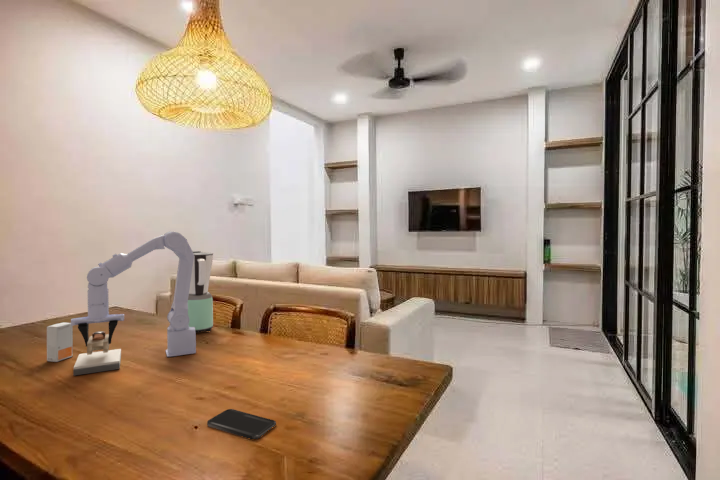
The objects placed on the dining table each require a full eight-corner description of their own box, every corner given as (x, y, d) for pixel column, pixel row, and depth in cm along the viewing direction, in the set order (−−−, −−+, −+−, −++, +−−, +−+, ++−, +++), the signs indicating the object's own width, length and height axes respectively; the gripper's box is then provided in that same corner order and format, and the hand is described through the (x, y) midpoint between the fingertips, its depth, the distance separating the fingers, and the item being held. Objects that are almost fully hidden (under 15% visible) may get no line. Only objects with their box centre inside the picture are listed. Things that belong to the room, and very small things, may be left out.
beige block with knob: (109, 344, 134) (109, 334, 134) (107, 352, 125) (107, 341, 125) (90, 346, 131) (90, 336, 131) (87, 355, 123) (86, 344, 122)
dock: (121, 355, 138) (120, 348, 138) (119, 369, 125) (119, 361, 125) (79, 361, 132) (79, 353, 132) (73, 376, 119) (73, 368, 119)
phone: (255, 437, 84) (205, 422, 90) (255, 442, 84) (205, 426, 91) (278, 421, 91) (229, 407, 98) (278, 425, 91) (229, 412, 98)
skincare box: (56, 362, 130) (56, 327, 130) (46, 361, 131) (45, 326, 131) (73, 356, 136) (73, 322, 136) (63, 355, 137) (62, 322, 137)
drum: (105, 336, 131) (105, 330, 131) (105, 339, 128) (105, 333, 127) (92, 338, 129) (92, 331, 129) (91, 341, 126) (91, 334, 126)
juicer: (176, 329, 173) (175, 250, 172) (207, 324, 181) (207, 250, 180) (186, 339, 158) (186, 253, 157) (220, 334, 166) (220, 252, 165)
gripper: (69, 307, 121) (69, 351, 121) (123, 303, 128) (124, 344, 128) (72, 303, 127) (72, 344, 127) (124, 300, 134) (124, 339, 135)
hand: (98, 344), depth 128 cm, fingers closed on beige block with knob, 5 cm apart
